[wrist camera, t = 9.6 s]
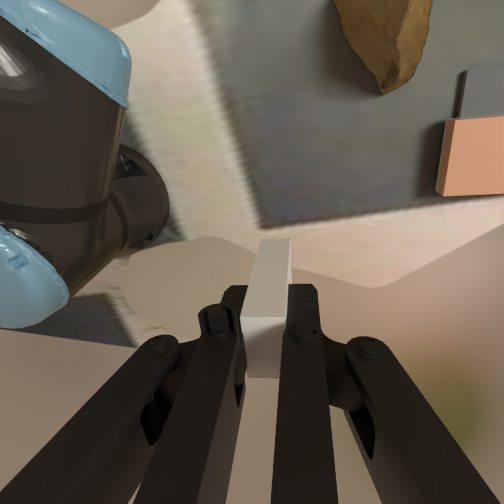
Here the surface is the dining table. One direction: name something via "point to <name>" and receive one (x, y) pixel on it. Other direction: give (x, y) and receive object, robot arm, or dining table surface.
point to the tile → (472, 156)
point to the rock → (386, 36)
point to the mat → (482, 92)
